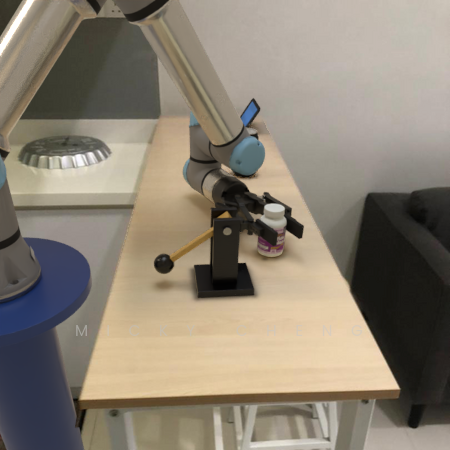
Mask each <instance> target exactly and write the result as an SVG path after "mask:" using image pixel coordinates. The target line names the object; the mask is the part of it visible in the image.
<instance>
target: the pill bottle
mask: <svg viewBox="0 0 450 450" xmlns="http://www.w3.org/2000/svg"><path fill="white" fill-rule="evenodd" d="M284 214H285V208H284V206H282V205H280V204H267V205H265V207H264V215H260V217H259V219H260V220H261V221H263V222H264V223H265V224H267V225H268V226H270V227H271V228H272V229H274V230H275V231H277V232H278V237H277V245H276V246H272V245H271V244H270V243H268V242H267V241H266V240H264V239H263V238H262V237H259V236H257V244H256V250H257V252H258V253H259V254H260V255H262V256H264V257H268V258H274V257H278V256H281V255H282V254H283V252H284V247H285V239H286V232H287V230H286V225H287V221H286V218H285V217H284Z"/></svg>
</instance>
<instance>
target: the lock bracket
mask: <svg viewBox="0 0 450 450" xmlns="http://www.w3.org/2000/svg"><path fill="white" fill-rule="evenodd" d="M226 211H228V213H229V214H230V215H231V217H232V218H217V217H219V216H220V215H222V214H223V213H225V212H226ZM240 222H241V220H240V217H237V208H236V207H221V208H215V207H210V226H209V229H210V228H212V227H213V236H212V237H211V238H209V263H203V264H202V263H200V264H193V274H194V280H195V287H196V288H195V289H196V294H197V298H218V297H237V296H254V295H255V287H254V284H253V281H252V278H251V275H250V272H249V268H248V265H247V262H239V257H240V255H239V254H240V240H241V239H240V237H241V232H240Z"/></svg>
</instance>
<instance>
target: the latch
mask: <svg viewBox="0 0 450 450" xmlns="http://www.w3.org/2000/svg"><path fill="white" fill-rule="evenodd" d="M217 218H232V217H231V215H230V214H229V213H228V211H226V212H225V213H223V214H222V215H220V216H219V217H217ZM212 236H213V227H212V228H210V227H209V229H207V230H206V231H204V232H203V233H201V234H200V235H198V236H196V237H195V238H193V239H192V240H191V241H189V242H188V243H186V244H185V245H183V246H182V247H180V248H179V249H176V251H174V252H173V253H171V254H168V253H160V254H158V255H157V256H156V257H155V258H154V260H153V267H154V269H155V271H156V272H157V273H159V274H161V275H168V274H169V273H171V272H172V271H173V270H174V268H175V262H176V261H178V260H179V259H181V258H182V257H184V256H185V255H187V254H188V253H190V252H191V251H192V250H195V249H196V248H197V247H198V246H200V245H202V244H203V243H205V242H206V241H207V240H210V238H211V237H212Z"/></svg>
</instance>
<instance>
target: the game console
mask: <svg viewBox="0 0 450 450" xmlns="http://www.w3.org/2000/svg"><path fill="white" fill-rule="evenodd" d="M260 112H261V106H260V105H259V103H258V101H257V100H256V99H255V98H254V97H253V98H252V99H251V100H249V103H248V104H247V105H246V106H245V108H244V110H243V112H242V113H241V114H240V115H239V116H240V118H241V120H242V122H243V124H244V125H245V127H246V128H250V126H251V125H252V123H253V122H254V121H255V119H256V117H257V116H258V115H259V113H260Z"/></svg>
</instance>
